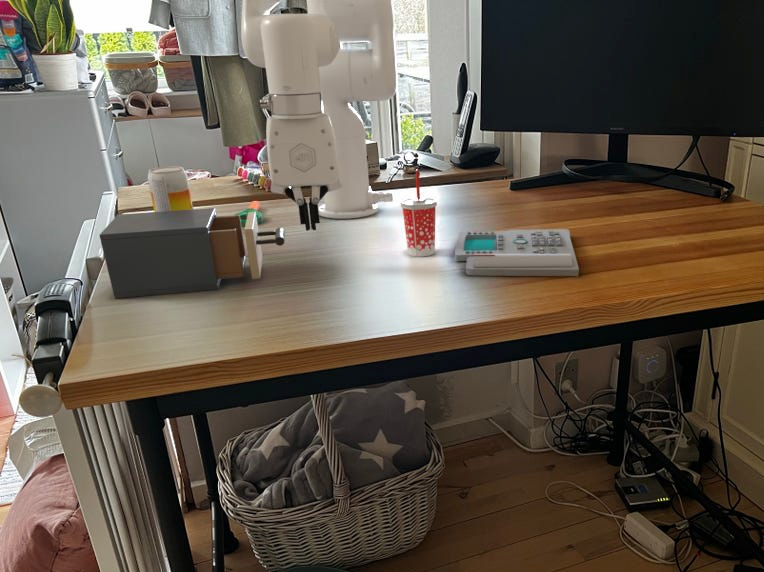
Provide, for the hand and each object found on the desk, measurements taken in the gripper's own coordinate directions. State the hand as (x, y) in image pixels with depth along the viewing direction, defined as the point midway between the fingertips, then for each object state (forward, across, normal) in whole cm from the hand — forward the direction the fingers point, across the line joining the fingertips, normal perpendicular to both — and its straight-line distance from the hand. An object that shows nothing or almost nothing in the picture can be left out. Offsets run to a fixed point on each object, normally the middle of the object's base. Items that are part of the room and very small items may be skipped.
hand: (310, 228), depth 115 cm
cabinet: (+7, -22, 0) cm, 23 cm away
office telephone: (+7, +33, -2) cm, 34 cm away
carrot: (+7, -12, +40) cm, 43 cm away
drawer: (+6, -13, 0) cm, 14 cm away
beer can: (+7, -22, +13) cm, 27 cm away
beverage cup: (+7, +18, +4) cm, 20 cm away
